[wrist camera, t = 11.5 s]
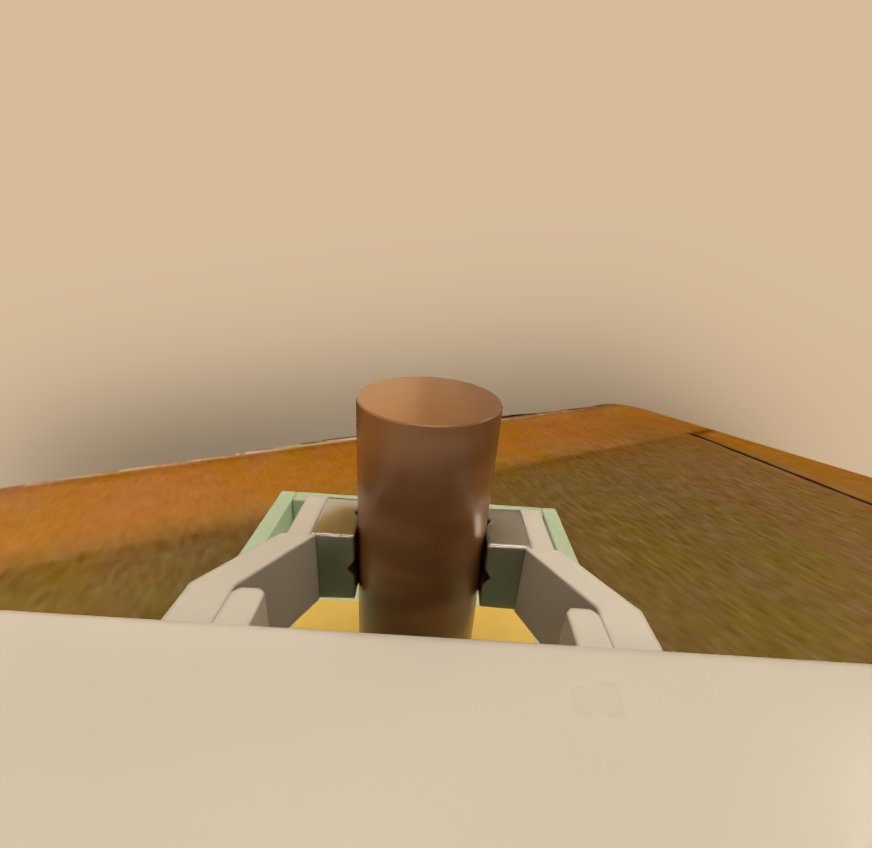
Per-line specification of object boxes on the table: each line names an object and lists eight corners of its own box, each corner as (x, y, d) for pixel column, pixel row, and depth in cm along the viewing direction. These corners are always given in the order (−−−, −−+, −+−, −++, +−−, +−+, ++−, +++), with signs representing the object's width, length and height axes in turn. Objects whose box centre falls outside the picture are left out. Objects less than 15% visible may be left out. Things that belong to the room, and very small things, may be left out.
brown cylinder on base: (236, 859, 10) (136, 454, 6) (305, 640, 15) (282, 352, 11) (566, 863, 10) (710, 482, 6) (518, 646, 16) (573, 369, 11)
